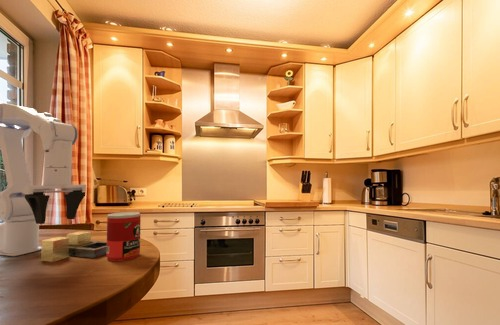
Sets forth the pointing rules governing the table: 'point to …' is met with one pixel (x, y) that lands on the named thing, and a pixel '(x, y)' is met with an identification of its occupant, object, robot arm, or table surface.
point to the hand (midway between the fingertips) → (56, 221)
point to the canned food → (123, 236)
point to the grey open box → (85, 245)
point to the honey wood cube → (55, 249)
